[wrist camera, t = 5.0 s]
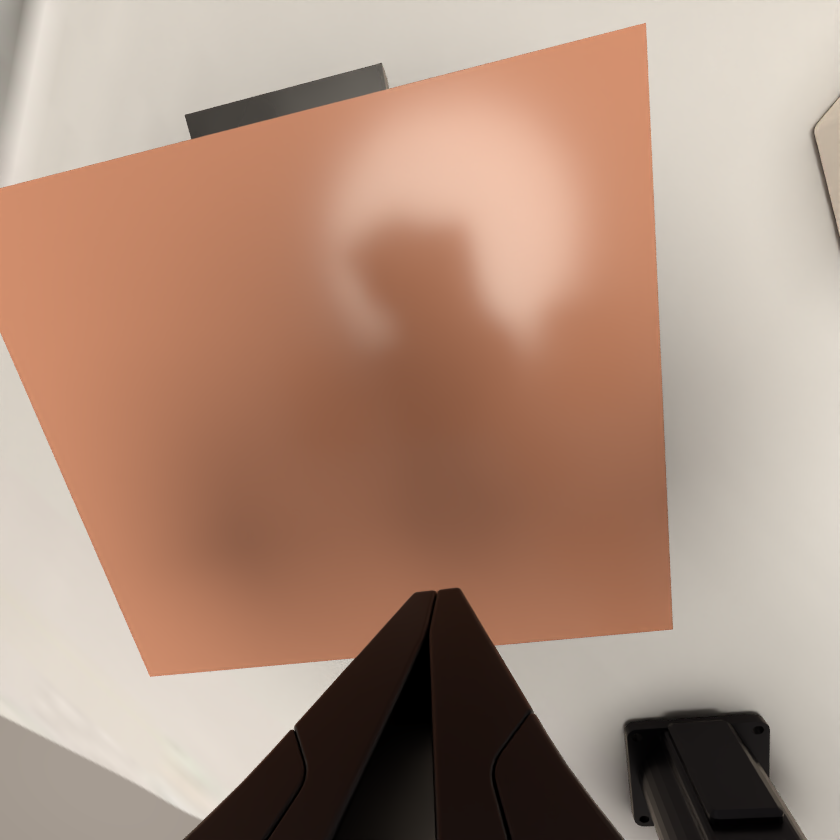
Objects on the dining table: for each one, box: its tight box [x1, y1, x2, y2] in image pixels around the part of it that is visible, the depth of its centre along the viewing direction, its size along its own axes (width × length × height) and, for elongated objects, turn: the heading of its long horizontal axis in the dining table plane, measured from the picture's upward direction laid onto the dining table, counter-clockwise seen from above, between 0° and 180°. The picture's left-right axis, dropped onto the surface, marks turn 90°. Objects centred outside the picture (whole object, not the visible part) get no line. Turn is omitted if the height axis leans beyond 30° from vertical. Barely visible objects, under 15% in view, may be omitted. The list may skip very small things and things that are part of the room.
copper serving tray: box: [0, 23, 673, 677], centre depth 14 cm, size 16×18×1 cm
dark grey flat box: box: [185, 63, 389, 139], centre depth 17 cm, size 18×18×5 cm
